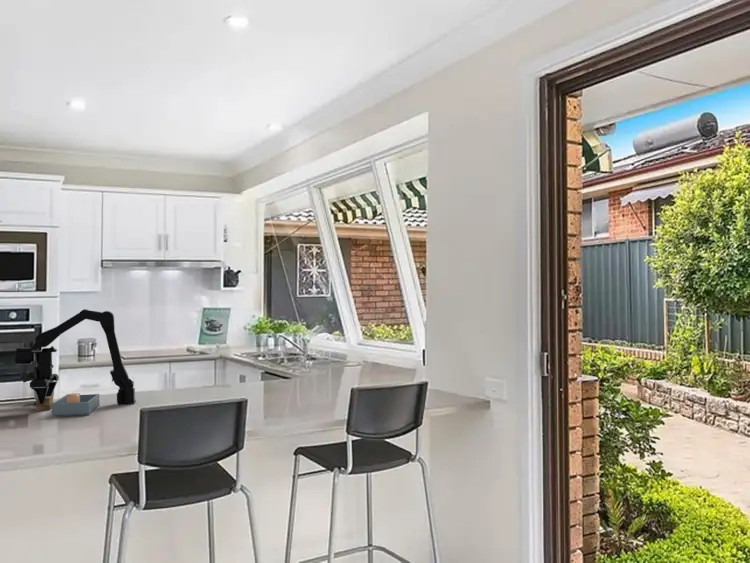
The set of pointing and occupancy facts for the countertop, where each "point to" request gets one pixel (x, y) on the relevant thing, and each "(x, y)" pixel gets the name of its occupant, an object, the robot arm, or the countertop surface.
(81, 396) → the slate tote
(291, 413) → the countertop surface
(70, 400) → the terracotta cylinder
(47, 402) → the walnut cube
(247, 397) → the countertop surface
